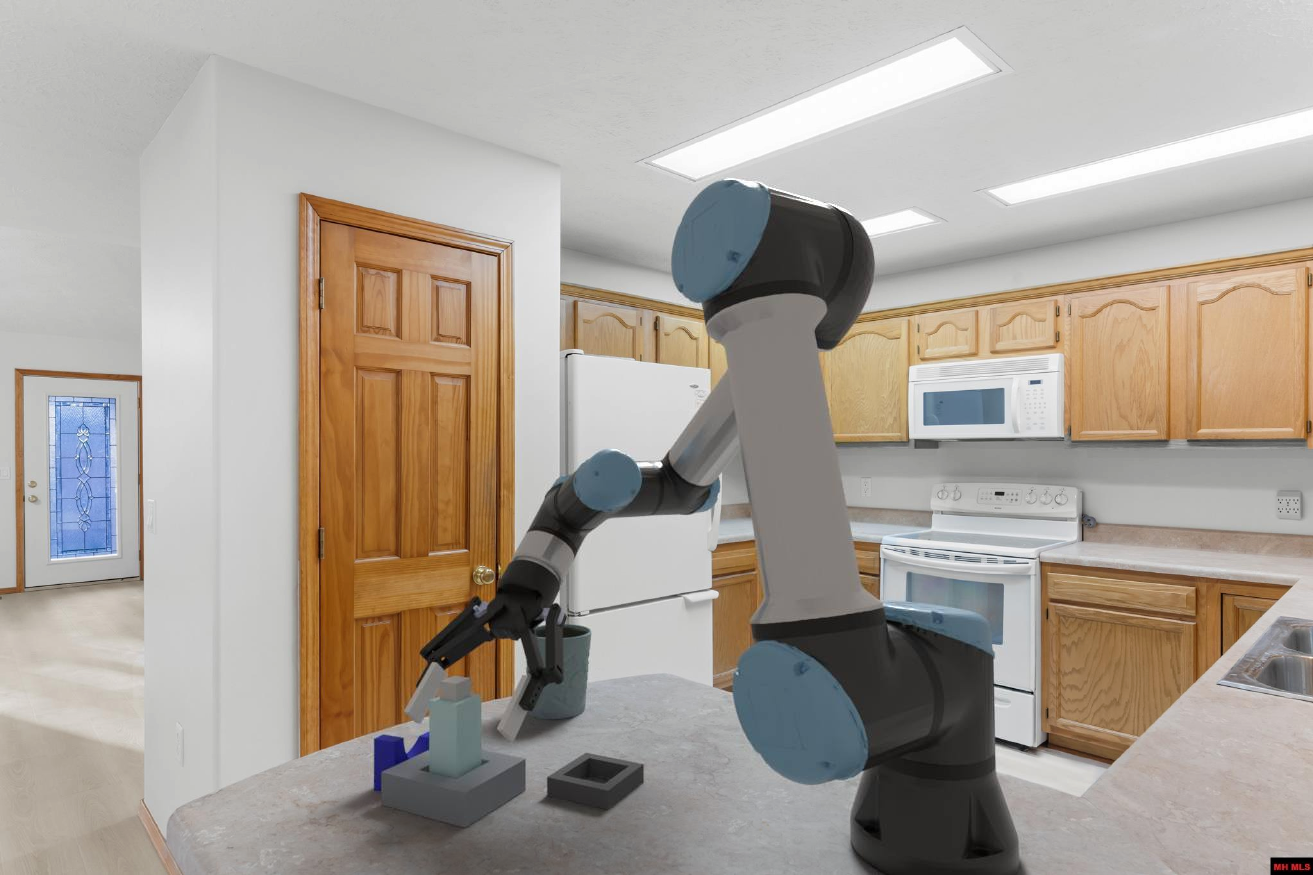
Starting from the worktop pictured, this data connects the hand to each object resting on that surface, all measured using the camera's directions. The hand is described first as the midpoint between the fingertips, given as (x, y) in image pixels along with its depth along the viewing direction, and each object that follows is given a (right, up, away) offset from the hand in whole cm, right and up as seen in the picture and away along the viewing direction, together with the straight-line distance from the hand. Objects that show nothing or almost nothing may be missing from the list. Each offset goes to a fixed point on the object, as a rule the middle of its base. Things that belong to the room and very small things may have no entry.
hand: (456, 726), depth 84 cm
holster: (+16, -8, +1) cm, 17 cm away
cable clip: (-7, -8, +7) cm, 13 cm away
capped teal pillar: (0, -8, -1) cm, 8 cm away
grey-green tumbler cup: (+8, -9, +29) cm, 31 cm away
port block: (0, -8, -1) cm, 8 cm away
